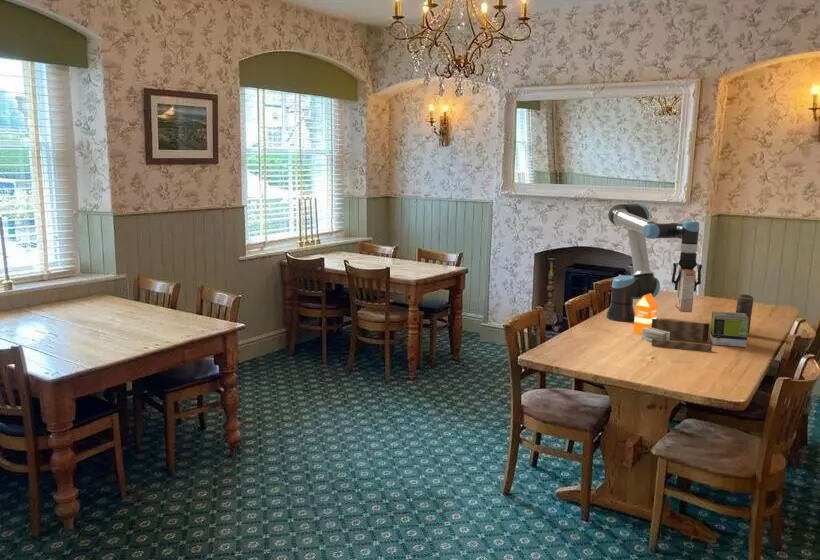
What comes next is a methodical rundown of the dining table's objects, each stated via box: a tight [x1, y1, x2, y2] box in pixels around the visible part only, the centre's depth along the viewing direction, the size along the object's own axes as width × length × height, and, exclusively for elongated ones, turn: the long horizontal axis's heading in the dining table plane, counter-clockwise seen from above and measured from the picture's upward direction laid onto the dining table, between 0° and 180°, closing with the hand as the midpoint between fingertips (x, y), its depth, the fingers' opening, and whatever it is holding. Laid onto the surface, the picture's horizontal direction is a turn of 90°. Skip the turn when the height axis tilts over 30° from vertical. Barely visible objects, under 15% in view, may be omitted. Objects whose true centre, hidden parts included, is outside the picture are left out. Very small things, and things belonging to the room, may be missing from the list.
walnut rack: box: [651, 318, 713, 352], centre depth 321 cm, size 26×19×9 cm
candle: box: [735, 294, 755, 334], centre depth 340 cm, size 8×7×20 cm
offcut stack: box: [641, 327, 671, 343], centre depth 324 cm, size 6×12×6 cm, turn 32°
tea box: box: [709, 310, 749, 348], centre depth 322 cm, size 15×10×15 cm, turn 73°
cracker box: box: [674, 266, 696, 313], centre depth 339 cm, size 14×6×21 cm, turn 168°
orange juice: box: [633, 293, 658, 335], centre depth 339 cm, size 8×9×20 cm
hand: (684, 297), depth 340 cm, fingers closed on cracker box, 6 cm apart
